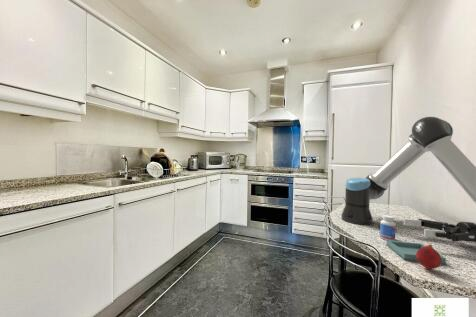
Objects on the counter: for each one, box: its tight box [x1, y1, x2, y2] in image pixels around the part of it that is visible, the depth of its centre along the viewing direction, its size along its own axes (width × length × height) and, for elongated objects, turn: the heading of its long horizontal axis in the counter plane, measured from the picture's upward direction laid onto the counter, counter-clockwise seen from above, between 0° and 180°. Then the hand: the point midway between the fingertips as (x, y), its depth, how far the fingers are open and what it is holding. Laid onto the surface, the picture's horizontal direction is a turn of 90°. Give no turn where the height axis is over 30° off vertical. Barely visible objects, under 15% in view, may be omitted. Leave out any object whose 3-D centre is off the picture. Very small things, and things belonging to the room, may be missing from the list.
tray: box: [386, 240, 447, 266], centre depth 75 cm, size 12×12×2 cm
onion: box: [416, 243, 442, 271], centre depth 64 cm, size 6×6×8 cm
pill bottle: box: [379, 214, 397, 241], centre depth 89 cm, size 6×5×10 cm
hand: (413, 227), depth 87 cm, fingers open, 13 cm apart
